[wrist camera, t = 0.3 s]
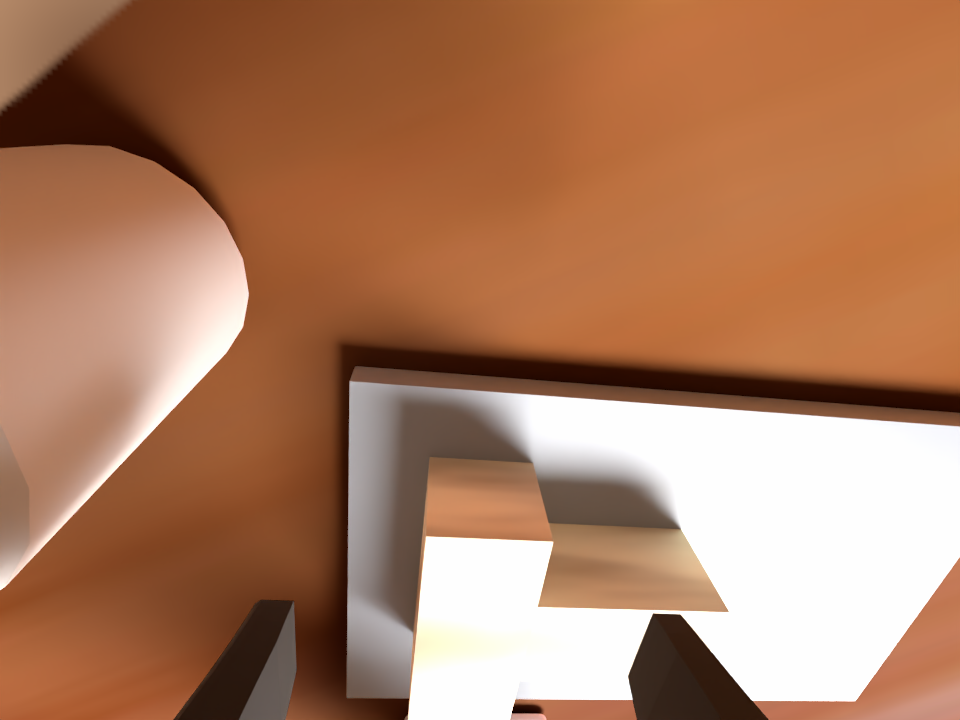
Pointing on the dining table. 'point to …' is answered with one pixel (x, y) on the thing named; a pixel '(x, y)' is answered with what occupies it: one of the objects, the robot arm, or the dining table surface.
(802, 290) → the dining table surface
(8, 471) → the can
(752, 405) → the board
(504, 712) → the block
